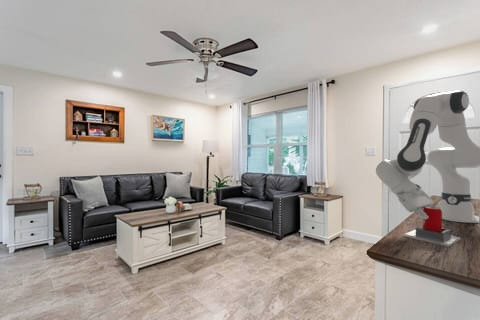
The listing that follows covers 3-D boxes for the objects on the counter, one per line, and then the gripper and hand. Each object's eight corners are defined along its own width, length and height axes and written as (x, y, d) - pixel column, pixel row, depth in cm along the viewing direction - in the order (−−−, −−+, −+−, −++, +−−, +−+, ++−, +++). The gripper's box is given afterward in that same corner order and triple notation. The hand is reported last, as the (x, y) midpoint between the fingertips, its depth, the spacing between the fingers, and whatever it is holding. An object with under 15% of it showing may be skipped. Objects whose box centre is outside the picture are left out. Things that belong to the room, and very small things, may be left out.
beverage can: (434, 233, 105) (434, 205, 105) (445, 238, 99) (446, 208, 99) (419, 233, 105) (419, 205, 105) (429, 238, 99) (429, 208, 99)
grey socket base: (417, 230, 112) (417, 222, 112) (460, 239, 100) (460, 230, 100) (404, 236, 104) (404, 227, 104) (448, 247, 92) (448, 236, 92)
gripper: (401, 188, 102) (429, 216, 94) (420, 184, 114) (446, 209, 106) (389, 197, 106) (415, 224, 98) (409, 193, 118) (434, 217, 110)
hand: (432, 216), depth 102 cm, fingers open, 8 cm apart
